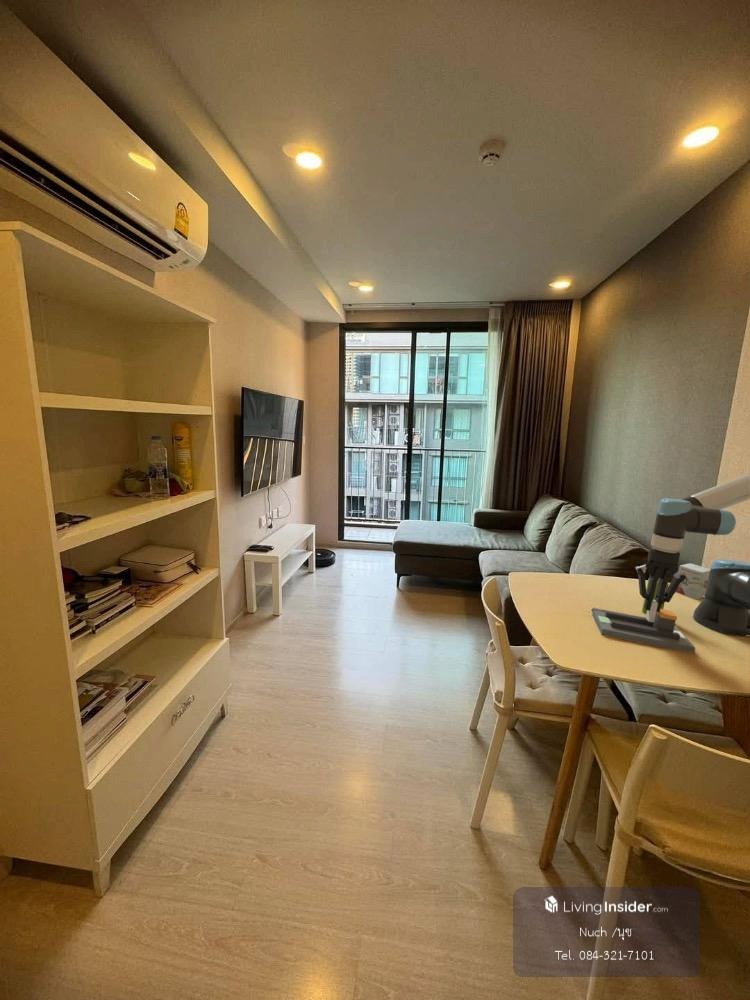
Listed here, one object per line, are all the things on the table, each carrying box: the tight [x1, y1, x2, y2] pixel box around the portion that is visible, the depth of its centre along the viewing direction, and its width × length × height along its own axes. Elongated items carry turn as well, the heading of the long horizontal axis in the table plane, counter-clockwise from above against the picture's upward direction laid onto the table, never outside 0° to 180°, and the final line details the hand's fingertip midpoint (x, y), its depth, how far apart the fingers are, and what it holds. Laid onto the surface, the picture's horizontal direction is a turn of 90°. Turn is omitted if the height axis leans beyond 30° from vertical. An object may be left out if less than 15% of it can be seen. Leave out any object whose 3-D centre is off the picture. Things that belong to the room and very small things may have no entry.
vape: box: [641, 577, 670, 615], centre depth 132 cm, size 4×6×20 cm, turn 26°
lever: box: [653, 608, 678, 632], centre depth 117 cm, size 4×4×6 cm
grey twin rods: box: [591, 607, 646, 618], centre depth 129 cm, size 23×3×1 cm, turn 70°
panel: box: [591, 610, 696, 654], centre depth 120 cm, size 24×14×4 cm, turn 70°
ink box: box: [675, 563, 710, 600], centre depth 155 cm, size 9×9×12 cm
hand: (649, 619), depth 119 cm, fingers closed
